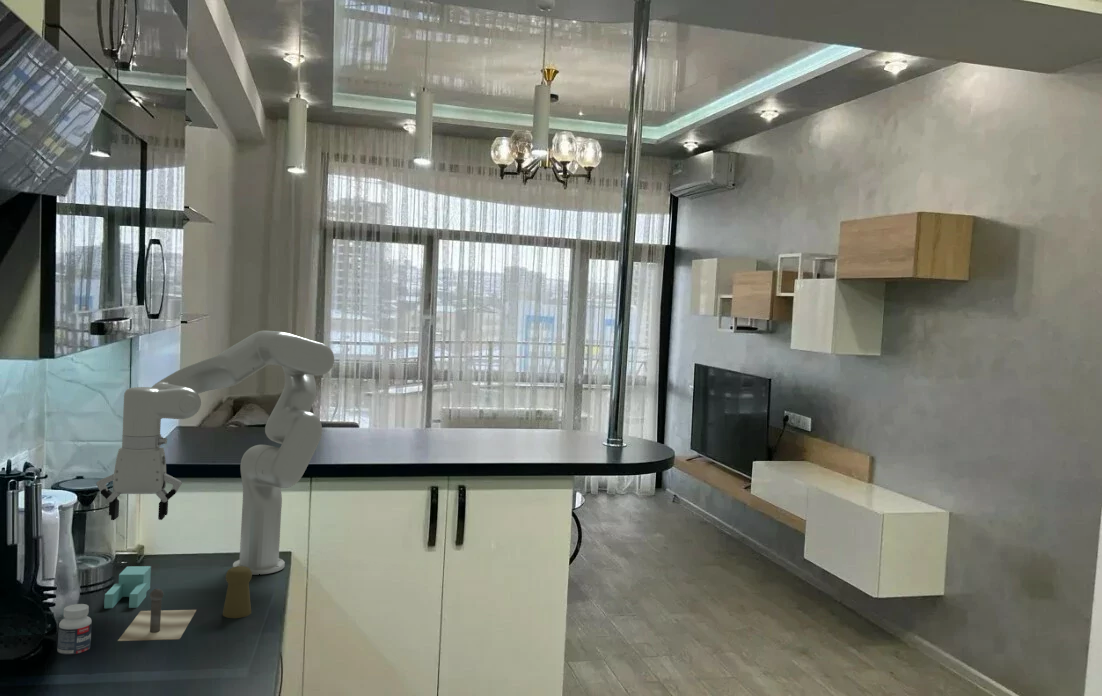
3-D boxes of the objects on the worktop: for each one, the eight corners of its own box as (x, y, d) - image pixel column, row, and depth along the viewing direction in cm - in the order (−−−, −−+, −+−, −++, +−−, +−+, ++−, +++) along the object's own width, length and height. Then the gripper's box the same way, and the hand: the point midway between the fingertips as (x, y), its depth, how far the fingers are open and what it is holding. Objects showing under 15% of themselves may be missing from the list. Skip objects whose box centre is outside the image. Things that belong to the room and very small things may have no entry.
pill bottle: (78, 661, 144) (80, 613, 144) (50, 659, 144) (52, 611, 144) (96, 650, 149) (98, 603, 149) (69, 648, 150) (71, 601, 149)
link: (122, 590, 180) (123, 566, 180) (153, 590, 181) (154, 566, 181) (103, 610, 167) (105, 585, 167) (136, 610, 169) (138, 584, 168)
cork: (241, 625, 165) (243, 573, 165) (215, 621, 166) (218, 569, 166) (257, 615, 171) (260, 565, 171) (232, 612, 172) (235, 562, 172)
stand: (140, 616, 167) (142, 571, 167) (196, 615, 169) (198, 570, 169) (117, 647, 151) (119, 597, 151) (179, 645, 154) (181, 596, 154)
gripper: (186, 440, 182) (183, 514, 183) (104, 439, 178) (101, 514, 179) (179, 446, 175) (176, 522, 176) (92, 444, 171) (90, 523, 172)
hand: (138, 518), depth 177 cm, fingers open, 9 cm apart
